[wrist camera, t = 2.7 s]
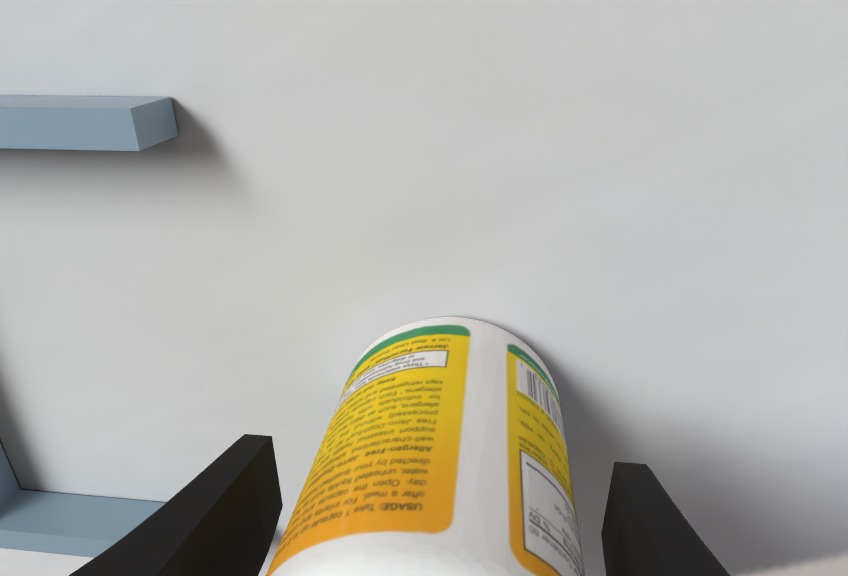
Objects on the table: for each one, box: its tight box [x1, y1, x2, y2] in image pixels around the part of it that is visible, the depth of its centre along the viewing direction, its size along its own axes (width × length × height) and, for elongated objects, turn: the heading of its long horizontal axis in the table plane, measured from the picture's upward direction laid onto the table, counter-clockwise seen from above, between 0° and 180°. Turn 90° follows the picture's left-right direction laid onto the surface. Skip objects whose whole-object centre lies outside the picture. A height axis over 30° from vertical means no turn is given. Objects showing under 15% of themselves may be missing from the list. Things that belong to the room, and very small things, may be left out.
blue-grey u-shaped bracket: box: [0, 95, 178, 558], centre depth 15 cm, size 8×13×2 cm, turn 0°
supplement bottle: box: [266, 316, 585, 576], centre depth 10 cm, size 5×5×10 cm
